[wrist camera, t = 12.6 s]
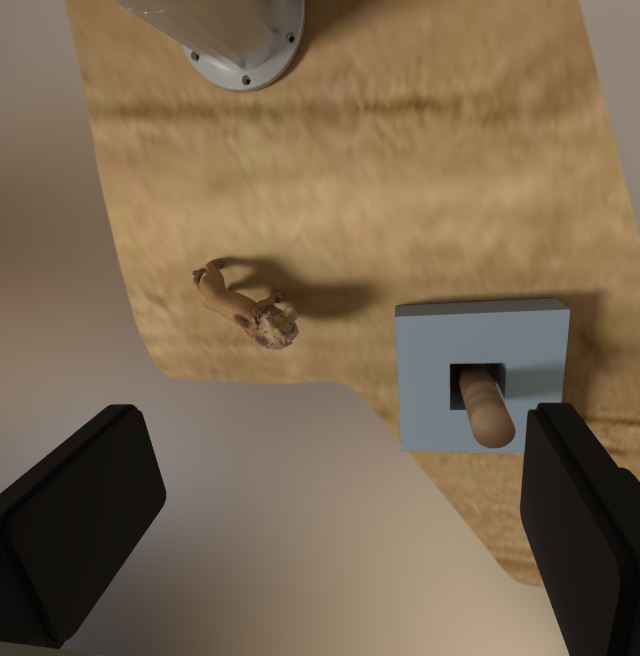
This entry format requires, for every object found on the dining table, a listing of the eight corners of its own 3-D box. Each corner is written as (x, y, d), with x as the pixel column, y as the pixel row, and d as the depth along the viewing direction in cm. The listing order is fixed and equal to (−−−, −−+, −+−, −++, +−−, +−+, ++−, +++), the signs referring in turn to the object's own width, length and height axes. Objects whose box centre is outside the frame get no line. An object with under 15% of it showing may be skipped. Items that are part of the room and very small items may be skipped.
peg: (455, 357, 45) (473, 413, 34) (488, 356, 44) (516, 414, 33) (455, 384, 46) (472, 447, 35) (487, 384, 45) (514, 449, 34)
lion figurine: (317, 295, 46) (298, 320, 38) (303, 336, 48) (283, 368, 40) (199, 251, 47) (155, 266, 38) (190, 293, 49) (147, 315, 40)
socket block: (395, 305, 44) (394, 316, 41) (555, 298, 41) (570, 309, 37) (401, 430, 50) (401, 450, 46) (543, 433, 46) (556, 454, 42)
